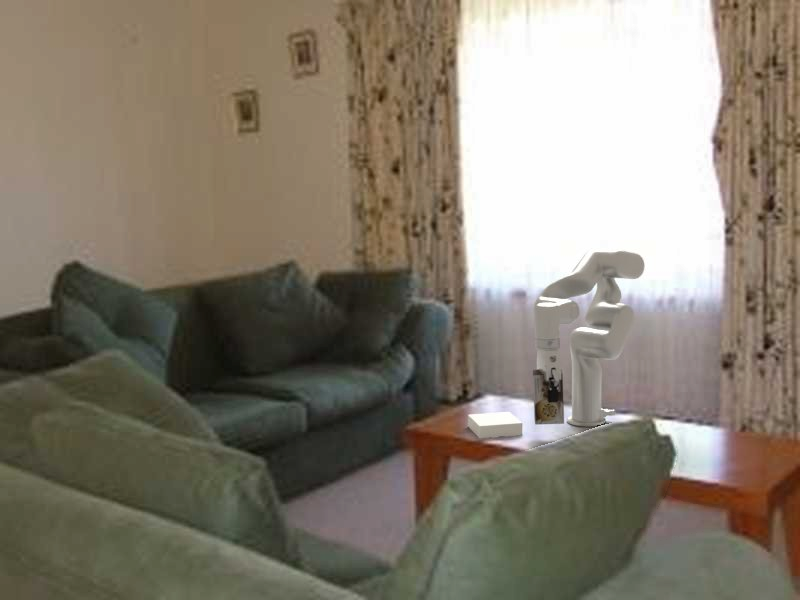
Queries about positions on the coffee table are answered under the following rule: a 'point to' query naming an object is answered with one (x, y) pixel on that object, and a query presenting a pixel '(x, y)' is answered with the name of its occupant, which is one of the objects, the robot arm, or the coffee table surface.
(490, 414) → the riser block
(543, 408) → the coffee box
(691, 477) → the coffee table surface
